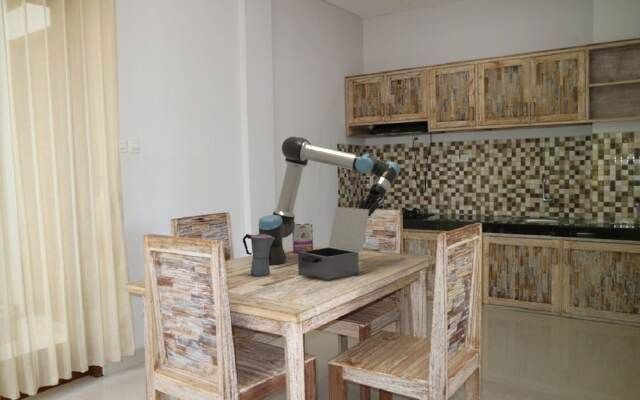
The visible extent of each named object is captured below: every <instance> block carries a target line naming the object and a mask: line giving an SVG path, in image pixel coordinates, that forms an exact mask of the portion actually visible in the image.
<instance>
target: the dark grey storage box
mask: <svg viewBox="0 0 640 400" xmlns="http://www.w3.org/2000/svg"><path fill="white" fill-rule="evenodd" d="M297 260H298V265H297V266H298V267H297V268H298V275H301V276H305V277H308V278H313V279H317V280H321V281H325V282H331V281H335V280H336V281H337V280H340V279H345V278H349V277H353V276H354V277H355V276H359V275H360V273H359V252H358V251H352V250H346V249H340V248H334V247H329V246H328V247H322V248H317V249H316V248H315V249H314V248H313V250H307V251H301V252H298V253H297Z"/></svg>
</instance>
